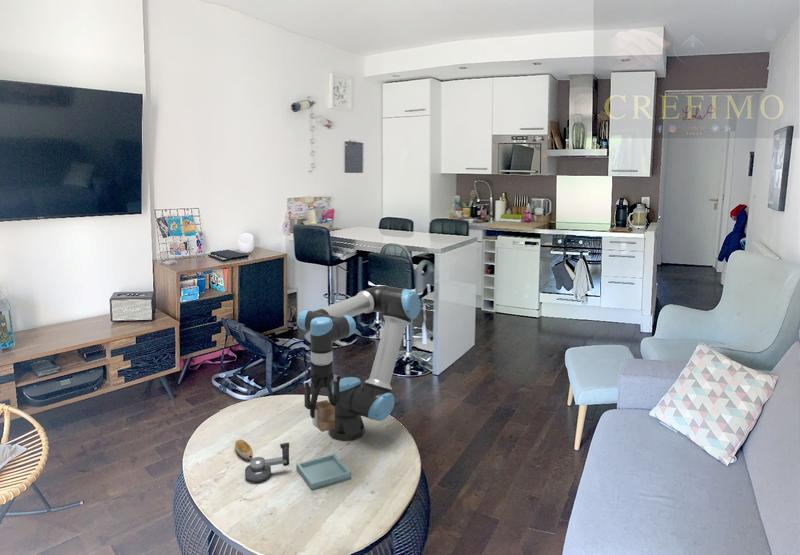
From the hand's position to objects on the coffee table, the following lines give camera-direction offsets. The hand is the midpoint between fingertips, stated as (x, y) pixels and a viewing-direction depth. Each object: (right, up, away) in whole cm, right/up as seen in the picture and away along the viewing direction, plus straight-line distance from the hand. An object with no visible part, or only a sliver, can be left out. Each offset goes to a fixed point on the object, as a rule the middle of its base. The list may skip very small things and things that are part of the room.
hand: (322, 423), depth 200 cm
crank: (-19, -16, +3) cm, 26 cm away
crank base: (-24, -20, +2) cm, 31 cm away
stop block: (+1, -1, -1) cm, 2 cm away
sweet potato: (-33, -17, +17) cm, 41 cm away
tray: (0, -20, +4) cm, 20 cm away
